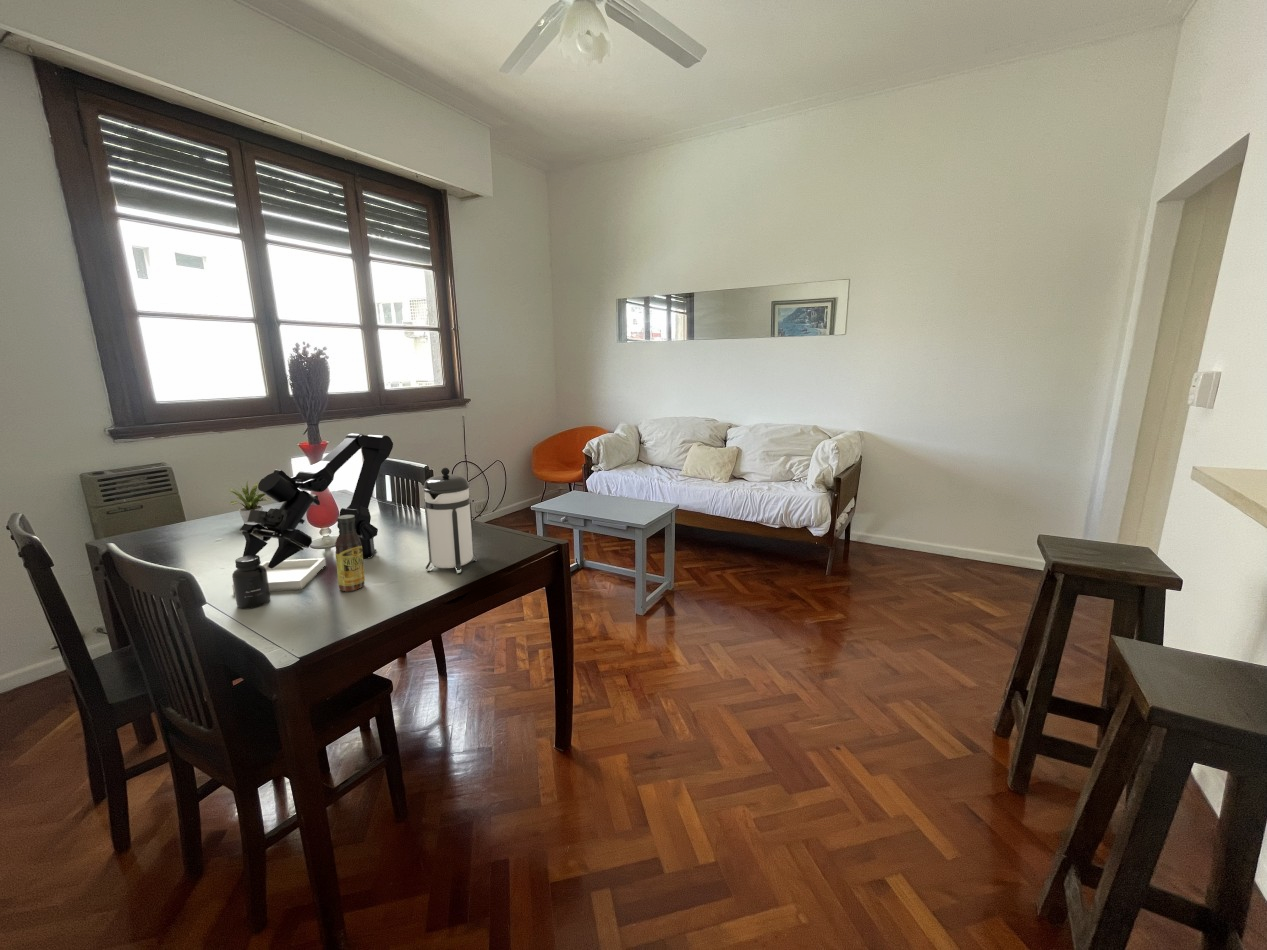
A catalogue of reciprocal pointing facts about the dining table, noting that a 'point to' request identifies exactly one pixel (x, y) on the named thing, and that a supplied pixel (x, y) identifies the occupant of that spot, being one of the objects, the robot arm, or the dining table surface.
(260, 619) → the dining table surface
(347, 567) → the sauce bottle
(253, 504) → the house plant
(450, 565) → the coffee press
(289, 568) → the tray
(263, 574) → the supplement bottle
